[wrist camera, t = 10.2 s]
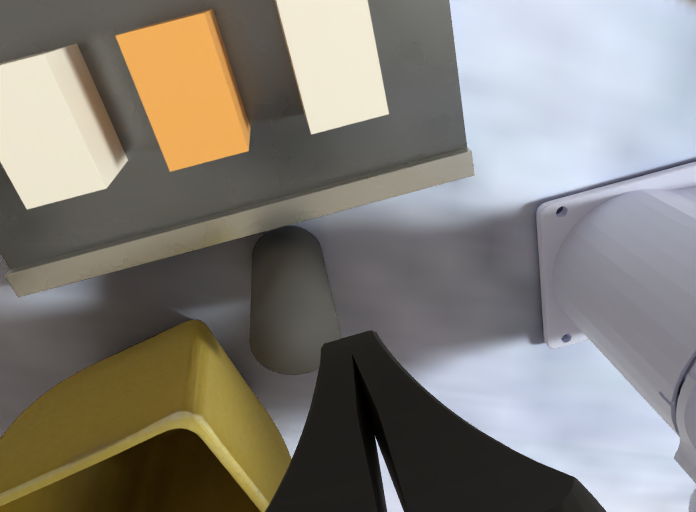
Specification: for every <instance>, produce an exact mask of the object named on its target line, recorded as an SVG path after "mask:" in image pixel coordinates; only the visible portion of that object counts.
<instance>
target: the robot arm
mask: <svg viewBox="0 0 696 512" xmlns="http://www.w3.org/2000/svg"><path fill="white" fill-rule="evenodd" d="M562 206H563V210H562V211H561V213H559V214H556V211H557V210H558V208H560V207H562ZM536 219H537V235H538V251H539V268H540V284H541V300H542V316H543V332H544V341H545V343H546V344H547V346H548V347H549V348H552V349H555V348H560V347H563V346H567V345H571V344H574V343H578V342H582V341H585V340H590V341H591V342H592V343H593V344H594V345H595V346H596V347H597V348H598V349H599V350H600V352H601V353H602V354H603V355H604V356H605V357H606V358H607V359H608V360H609V361H610V362H611V363H612V364H613V366H614V367H615V368H616V369H617V370H618V371H619V372H620V373H621V374H622V375H623V376H624V377H625V379H626V380H627V381H628V382H629V383H630V384H631V385H632V386H633V387H634V388H635V389H636V390H637V392H638V393H639V394H640V395H641V396H642V397H643V398H644V399H645V400H646V401H647V402H648V403H649V404H650V406H651V407H652V408H653V409H654V410H655V411H656V412H657V413H658V414H659V415H660V416H661V417H662V419H663V420H664V421H665V422H666V423H667V424H668V425H669V426H670V427H671V428H672V429H673V430H674V431H675V433H676V434H677V435H678V436H679V437H680V444H679V448H678V450H677V452H676V454H675V456H674V459H675V460H676V461H677V463H678V464H679V465H680V466H681V467H682V468H683V469H684V471H685V472H686V473H687V474H688V475H689V476H690V477H691V479H692V480H693V481H694V482H695V483H696V162H692V163H688V164H685V165H681V166H677V167H673V168H670V169H666V170H662V171H659V172H655V173H651V174H647V175H644V176H640V177H636V178H633V179H629V180H625V181H621V182H618V183H614V184H610V185H607V186H603V187H599V188H596V189H592V190H588V191H584V192H581V193H577V194H573V195H570V196H566V197H562V198H558V199H555V200H551V201H547V202H545V203H543V204H541V205H540V206H539V208H538V210H537V213H536ZM566 334H567V335H566ZM564 335H566V337H564V338H562V337H563V336H564ZM375 437H376V439H377V442H378V445H379V447H380V450H381V453H382V455H383V458H384V460H385V463H386V466H387V468H388V471H389V474H390V476H391V479H392V481H393V484H394V487H395V489H396V492H397V495H398V497H399V500H400V502H401V505H402V508H403V510H404V512H606V511H605V509H604V508H603V507H602V506H601V505H600V503H599V502H598V501H597V500H596V499H595V498H594V497H593V495H592V494H591V493H590V492H589V491H588V490H587V489H586V488H585V487H584V486H583V485H582V484H581V483H580V482H579V481H578V480H577V479H576V478H575V477H573V476H570V475H568V474H565V473H563V472H560V471H558V470H556V469H553V468H551V467H548V466H546V465H543V464H541V463H539V462H536V461H534V460H532V459H530V458H528V457H526V456H524V455H522V454H520V453H518V452H516V451H514V450H512V449H511V448H509V447H507V446H505V445H504V444H502V443H500V442H499V441H497V440H495V439H493V438H492V437H490V436H488V435H487V434H485V433H483V432H481V431H480V430H478V429H477V428H475V427H474V426H472V425H471V424H469V423H468V422H466V421H465V420H463V419H462V418H461V417H459V416H458V415H457V414H455V413H454V412H452V411H451V410H450V409H448V408H447V407H446V406H445V405H443V404H442V403H441V402H440V401H438V400H437V399H436V398H435V397H434V396H433V395H431V394H430V393H429V392H428V391H427V390H426V389H425V388H424V387H422V386H421V385H420V384H419V383H418V382H417V381H416V380H415V379H414V378H413V377H412V376H411V375H410V374H409V373H408V372H407V371H406V370H405V369H404V368H403V367H402V366H401V365H400V363H399V362H398V361H397V360H396V359H395V358H394V357H393V355H392V354H391V353H390V352H389V351H388V349H387V348H386V347H385V345H384V344H383V343H382V341H381V340H380V338H379V336H378V335H377V333H376V332H374V331H372V330H371V331H367V332H364V333H360V334H357V335H353V336H349V337H346V338H342V339H339V340H335V341H332V342H328V343H324V344H323V346H322V347H321V357H320V366H319V372H318V377H317V383H316V387H315V391H314V395H313V399H312V403H311V407H310V410H309V413H308V416H307V420H306V423H305V426H304V429H303V432H302V435H301V437H300V440H299V443H298V445H297V448H296V450H295V453H294V455H293V457H292V460H291V462H290V464H289V467H288V469H287V471H286V473H285V475H284V477H283V479H282V481H281V483H280V485H279V487H278V489H277V491H276V493H275V495H274V497H273V498H272V500H271V502H270V504H269V506H268V507H267V509H266V510H265V512H387V508H386V502H385V496H384V490H383V483H382V477H381V471H380V465H379V459H378V453H377V446H376V440H375ZM689 512H696V489H695V490H694V491H693V493H692V495H691V497H690V502H689Z"/></svg>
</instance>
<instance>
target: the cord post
mask: <svg viewBox="0 0 696 512" xmlns="http://www.w3.org/2000/svg"><path fill="white" fill-rule="evenodd" d="M339 339H340V329H339V324H338V320H337V316H336V311H335V307H334V302H333V298H332V294H331V289H330V285H329V280H328V276H327V271H326V267H325V263H324V258H323V254H322V249H321V246H320V244H319V242H318V241H317V239H316V238H315V237H314V236H313V235H312V234H311V233H310V232H308V231H306V230H305V229H302V228H299V227H296V226H283V227H279V228H276V229H272V230H269V231H268V232H266V233H265V234H264V235H262V236H261V238H260V239H259V240H258V241H257V243H256V245H255V247H254V250H253V255H252V284H251V313H250V347H251V350H252V353H253V355H254V356H255V358H256V359H257V360H258V361H259V362H260V363H261V364H262V365H263V366H264V367H266V368H268V369H269V370H272V371H274V372H277V373H280V374H286V375H298V374H304V373H308V372H311V371H314V370H316V369H318V368H319V366H320V357H321V347H322V346H323V344H324V343H328V342H332V341H335V340H339Z"/></svg>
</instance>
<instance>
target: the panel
mask: <svg viewBox="0 0 696 512" xmlns="http://www.w3.org/2000/svg"><path fill="white" fill-rule="evenodd" d="M368 5H369V10H370V16H371V21H372V26H373V32H374V37H375V42H376V48H377V53H378V58H379V64H380V69H381V74H382V80H383V85H384V90H385V96H386V101H387V106H388V112H389V114H387V115H384V116H380V117H376V118H372V119H368V120H365V121H361V122H357V123H353V124H349V125H346V126H342V127H338V128H334V129H331V130H327V131H323V132H319V133H315V134H312V135H311V132H310V129H309V126H308V123H307V120H306V117H305V114H304V111H303V107H302V103H301V99H300V95H299V92H298V88H297V84H296V80H295V76H294V72H293V69H292V65H291V61H290V57H289V53H288V50H287V46H286V42H285V38H284V34H283V31H282V27H281V23H280V19H279V15H278V12H277V8H276V4H275V0H0V63H3V62H7V61H11V60H15V59H19V58H22V57H26V56H30V55H34V54H38V53H42V52H46V51H50V50H54V49H58V48H61V47H65V46H69V45H73V44H77V45H78V47H79V49H80V52H81V54H82V56H83V58H84V61H85V63H86V65H87V68H88V70H89V72H90V74H91V77H92V79H93V81H94V84H95V86H96V88H97V90H98V93H99V95H100V97H101V100H102V102H103V104H104V106H105V109H106V111H107V113H108V116H109V118H110V120H111V122H112V125H113V127H114V129H115V132H116V134H117V136H118V139H119V141H120V143H121V145H122V148H123V150H124V152H125V155H126V157H127V159H128V161H127V162H126V164H125V165H124V166H123V168H122V169H121V170H120V172H119V173H118V174H117V176H116V177H115V178H114V179H113V181H112V182H111V183H110V185H109V186H108V187H107V189H103V190H99V191H95V192H92V193H88V194H84V195H80V196H76V197H73V198H69V199H65V200H61V201H57V202H54V203H50V204H46V205H42V206H38V207H35V208H31V209H26V207H25V205H24V203H23V202H22V200H21V198H20V196H19V195H18V193H17V191H16V189H15V187H14V186H13V184H12V182H11V180H10V178H9V177H8V175H7V173H6V171H5V169H4V168H3V166H2V164H1V162H0V253H1V255H2V256H3V258H4V259H5V261H6V263H7V264H8V266H9V268H10V270H9V271H8V272H7V273H6V274H5V277H6V278H7V280H8V281H9V283H10V285H11V286H12V288H13V290H14V291H15V293H16V294H17V296H18V297H21V296H25V295H29V294H33V293H36V292H40V291H44V290H48V289H51V288H55V287H59V286H63V285H66V284H70V283H74V282H78V281H81V280H85V279H89V278H92V277H96V276H100V275H104V274H107V273H111V272H115V271H119V270H122V269H126V268H130V267H134V266H137V265H141V264H145V263H149V262H152V261H156V260H160V259H163V258H167V257H171V256H175V255H178V254H182V253H186V252H190V251H193V250H197V249H201V248H205V247H208V246H212V245H216V244H220V243H223V242H227V241H231V240H234V239H238V238H242V237H246V236H249V235H253V234H257V233H261V232H264V231H268V230H272V229H276V228H279V227H283V226H287V225H291V224H294V223H298V222H302V221H306V220H309V219H313V218H317V217H320V216H324V215H328V214H332V213H335V212H339V211H343V210H347V209H350V208H354V207H358V206H362V205H365V204H369V203H373V202H377V201H380V200H384V199H388V198H391V197H395V196H399V195H403V194H406V193H410V192H414V191H418V190H421V189H425V188H429V187H433V186H436V185H440V184H444V183H448V182H451V181H455V180H459V179H462V178H466V177H470V176H474V168H473V159H472V151H471V150H470V149H469V148H467V143H466V135H465V127H464V119H463V110H462V102H461V94H460V86H459V77H458V69H457V61H456V53H455V45H454V36H453V28H452V20H451V12H450V4H449V0H368ZM210 9H213V11H214V14H215V17H216V20H217V23H218V27H219V30H220V33H221V36H222V39H223V42H224V46H225V49H226V52H227V55H228V58H229V62H230V65H231V68H232V71H233V74H234V77H235V81H236V84H237V87H238V90H239V93H240V97H241V100H242V103H243V106H244V109H245V112H246V116H247V119H248V122H249V125H250V141H249V151H247V152H243V153H239V154H236V155H232V156H228V157H224V158H221V159H217V160H213V161H209V162H205V163H202V164H198V165H194V166H190V167H186V168H183V169H179V170H175V171H171V172H170V171H169V168H168V166H167V163H166V161H165V158H164V156H163V153H162V151H161V148H160V146H159V143H158V141H157V138H156V136H155V133H154V131H153V128H152V126H151V123H150V121H149V118H148V116H147V113H146V111H145V108H144V106H143V103H142V101H141V98H140V96H139V94H138V91H137V89H136V86H135V84H134V81H133V79H132V76H131V74H130V71H129V69H128V66H127V64H126V61H125V59H124V56H123V54H122V51H121V49H120V46H119V44H118V41H117V39H116V35H119V34H122V33H124V32H127V31H130V30H133V29H136V28H139V27H143V26H147V25H151V24H155V23H159V22H163V21H167V20H171V19H175V18H178V17H182V16H186V15H190V14H194V13H198V12H202V11H206V10H210Z"/></svg>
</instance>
